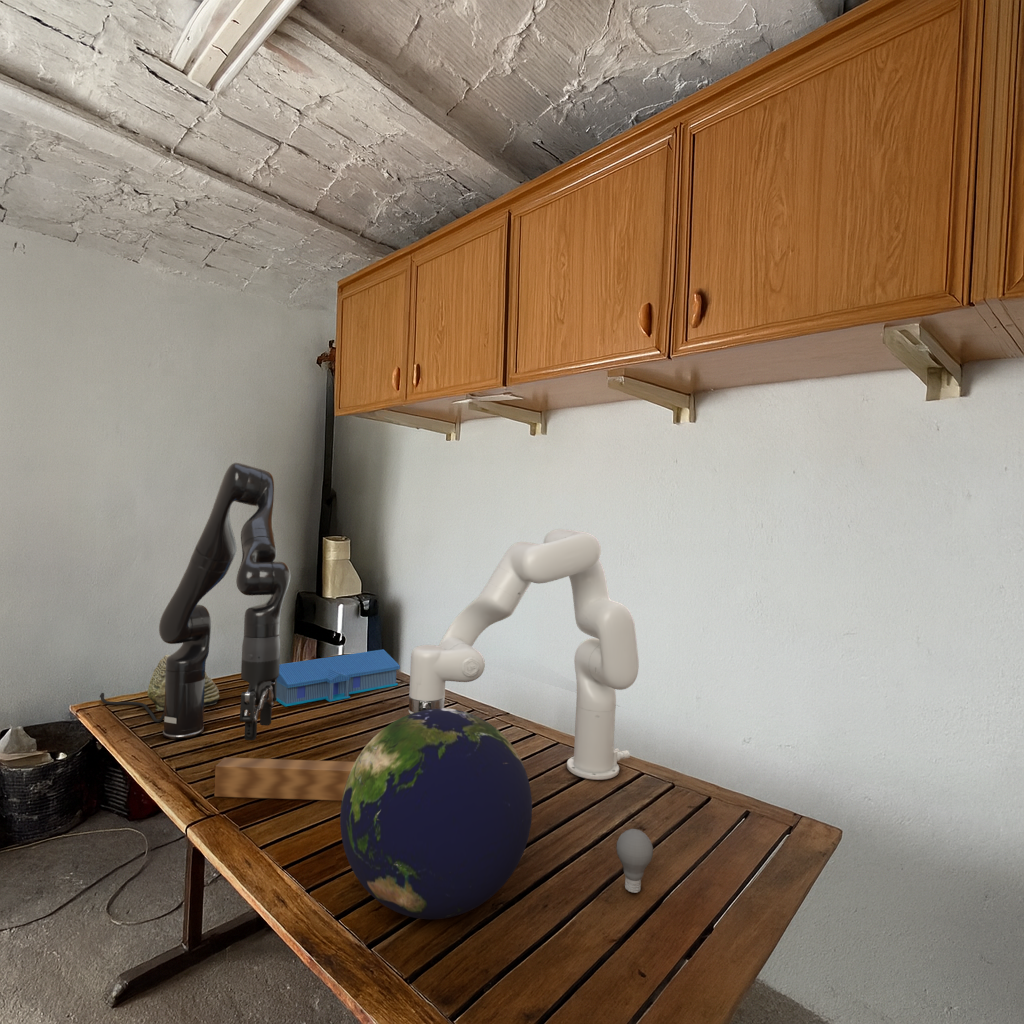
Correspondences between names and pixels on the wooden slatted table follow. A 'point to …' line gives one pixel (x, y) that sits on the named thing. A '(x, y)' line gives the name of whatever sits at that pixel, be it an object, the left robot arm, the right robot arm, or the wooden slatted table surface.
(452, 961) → the wooden slatted table surface
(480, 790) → the globe
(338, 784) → the beam
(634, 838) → the light bulb
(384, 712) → the wooden slatted table surface
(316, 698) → the model building
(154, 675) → the fossil
